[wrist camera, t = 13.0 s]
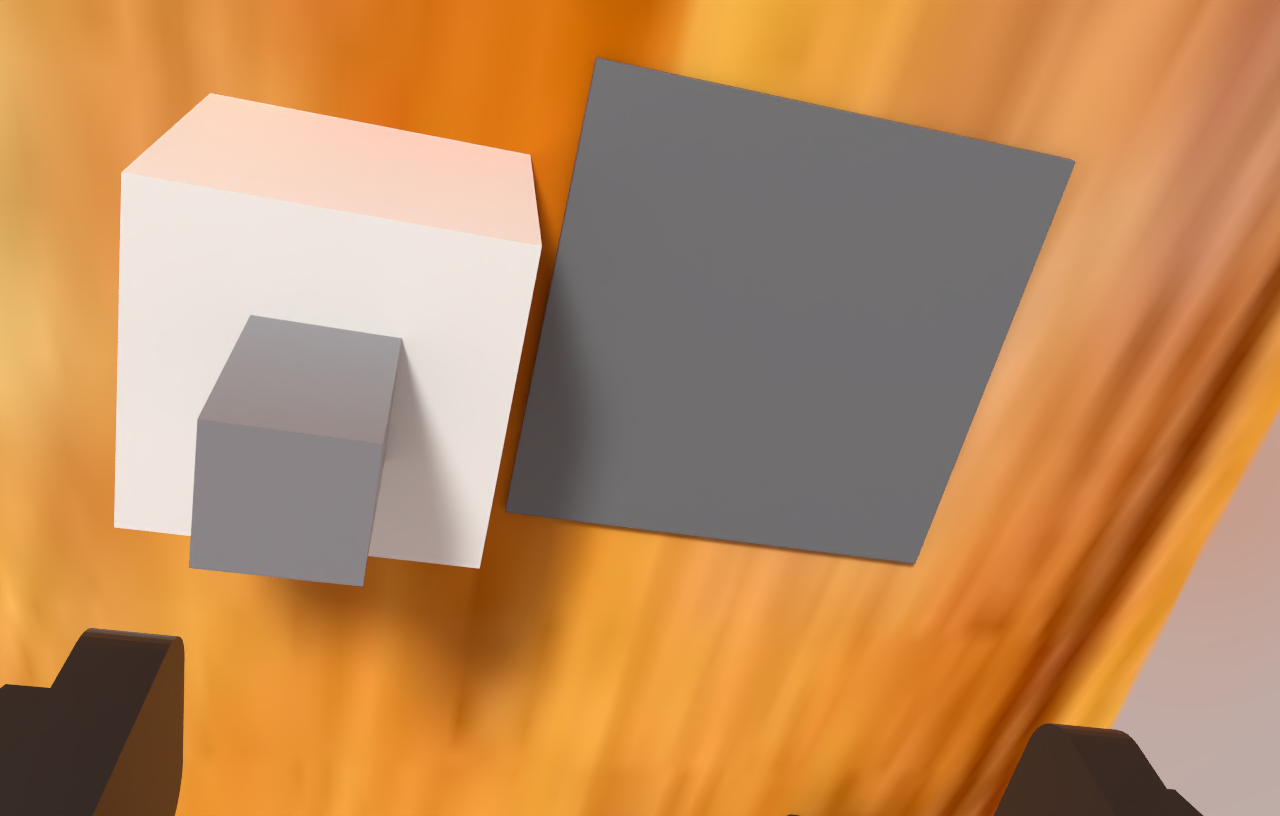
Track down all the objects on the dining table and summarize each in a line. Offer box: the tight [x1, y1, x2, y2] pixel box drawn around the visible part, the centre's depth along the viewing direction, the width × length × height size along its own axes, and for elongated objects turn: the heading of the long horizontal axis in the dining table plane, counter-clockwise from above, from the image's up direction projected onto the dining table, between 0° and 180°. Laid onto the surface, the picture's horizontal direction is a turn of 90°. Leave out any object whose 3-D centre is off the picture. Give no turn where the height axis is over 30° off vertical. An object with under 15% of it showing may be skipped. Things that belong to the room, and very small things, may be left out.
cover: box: [114, 93, 542, 587], centre depth 32 cm, size 11×11×16 cm
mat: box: [506, 57, 1075, 563], centre depth 42 cm, size 18×18×1 cm
